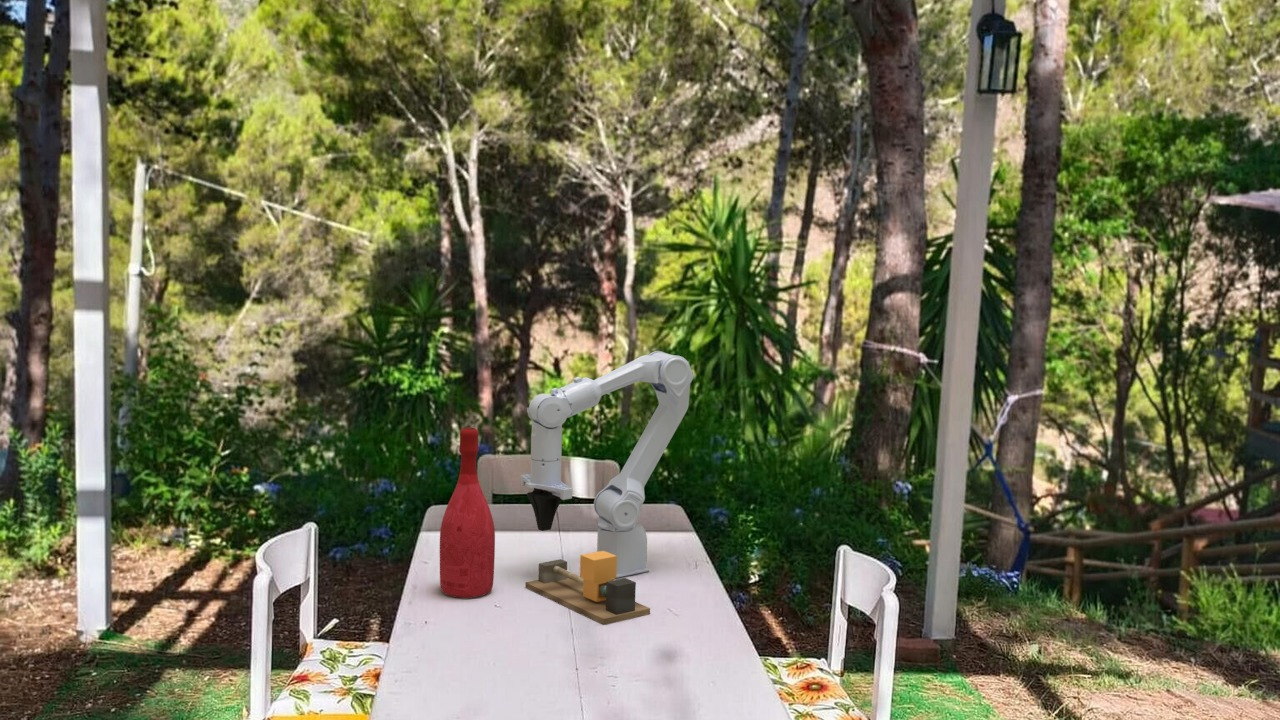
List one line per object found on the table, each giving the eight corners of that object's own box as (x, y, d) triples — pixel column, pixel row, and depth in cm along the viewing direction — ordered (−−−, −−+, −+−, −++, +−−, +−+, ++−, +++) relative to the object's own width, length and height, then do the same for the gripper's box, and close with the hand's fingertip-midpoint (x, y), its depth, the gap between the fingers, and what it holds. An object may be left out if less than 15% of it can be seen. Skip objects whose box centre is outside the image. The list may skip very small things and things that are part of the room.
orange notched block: (579, 596, 197) (580, 554, 196) (602, 591, 200) (603, 550, 199) (592, 602, 194) (594, 560, 193) (615, 597, 197) (617, 556, 196)
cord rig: (525, 587, 206) (526, 555, 205) (569, 578, 212) (570, 547, 211) (603, 624, 187) (604, 590, 187) (650, 613, 194) (651, 580, 193)
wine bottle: (503, 587, 206) (506, 426, 202) (478, 603, 196) (481, 434, 193) (455, 580, 209) (457, 421, 206) (429, 595, 200) (430, 429, 196)
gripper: (507, 453, 213) (505, 524, 214) (550, 467, 201) (548, 541, 203) (538, 450, 217) (536, 519, 218) (582, 463, 206) (580, 535, 207)
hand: (544, 529), depth 211 cm, fingers closed
